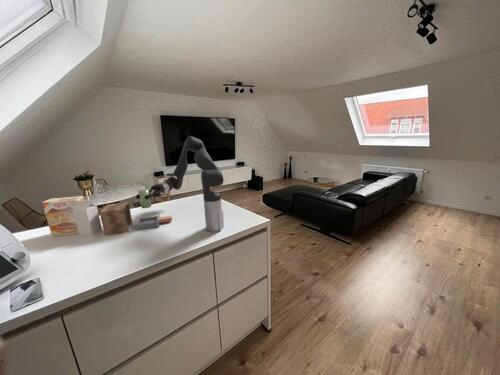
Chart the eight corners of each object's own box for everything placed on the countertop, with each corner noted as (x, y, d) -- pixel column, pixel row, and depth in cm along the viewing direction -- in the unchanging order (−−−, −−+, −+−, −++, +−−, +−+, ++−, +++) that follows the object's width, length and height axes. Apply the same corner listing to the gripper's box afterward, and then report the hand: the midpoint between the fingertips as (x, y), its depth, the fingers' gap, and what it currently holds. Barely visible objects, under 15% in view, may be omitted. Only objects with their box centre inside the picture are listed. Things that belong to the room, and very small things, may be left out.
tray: (171, 217, 127) (171, 212, 127) (172, 224, 117) (171, 220, 116) (140, 222, 121) (139, 217, 120) (137, 230, 111) (136, 225, 110)
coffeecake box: (51, 237, 105) (40, 202, 100) (60, 231, 112) (50, 198, 106) (85, 233, 109) (76, 199, 104) (91, 227, 115) (83, 195, 110)
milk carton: (92, 237, 104) (84, 203, 99) (79, 237, 105) (70, 203, 100) (102, 230, 111) (95, 198, 106) (90, 230, 111) (82, 198, 106)
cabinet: (132, 223, 120) (128, 202, 116) (128, 232, 109) (124, 209, 105) (111, 226, 116) (106, 204, 113) (104, 236, 105) (99, 212, 102)
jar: (153, 205, 117) (150, 189, 114) (147, 208, 112) (144, 191, 110) (145, 205, 118) (142, 188, 115) (139, 208, 113) (136, 191, 110)
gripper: (149, 183, 127) (128, 190, 111) (169, 183, 124) (151, 191, 108) (151, 194, 129) (131, 203, 113) (171, 195, 126) (153, 204, 110)
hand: (141, 197), depth 111 cm, fingers closed on jar, 5 cm apart
